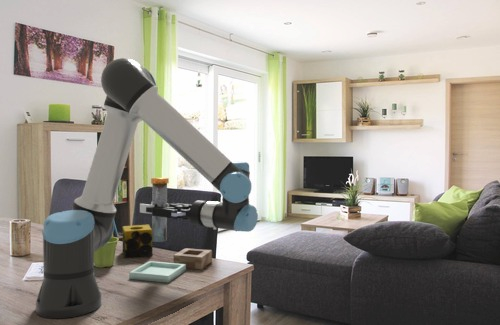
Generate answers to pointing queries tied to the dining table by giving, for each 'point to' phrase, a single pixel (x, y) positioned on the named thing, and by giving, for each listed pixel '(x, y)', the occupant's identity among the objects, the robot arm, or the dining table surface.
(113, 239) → the plant pot
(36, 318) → the dining table surface
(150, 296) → the dining table surface
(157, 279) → the tray
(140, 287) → the dining table surface
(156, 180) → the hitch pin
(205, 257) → the socket collar
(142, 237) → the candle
